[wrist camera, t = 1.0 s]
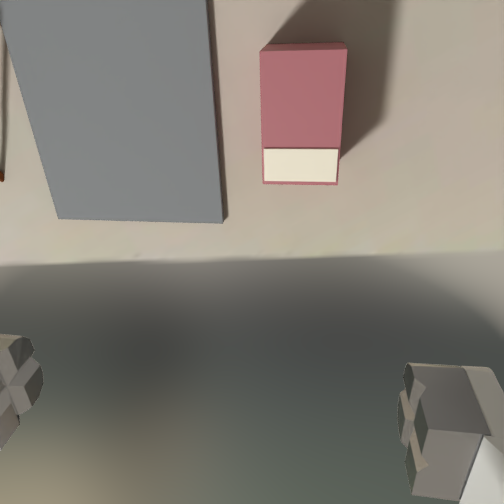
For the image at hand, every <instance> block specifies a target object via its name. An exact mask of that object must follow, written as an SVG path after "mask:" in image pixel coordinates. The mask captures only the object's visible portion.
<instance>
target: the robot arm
mask: <svg viewBox="0 0 504 504" xmlns="http://www.w3.org/2000/svg"><path fill="white" fill-rule="evenodd" d="M34 351H35V349H34V347H33V345H32V343H31V340H30V339H29V338H26V337H23V336H15V335H4V334H0V451H1V450H2V448H3V447H4V445H5V444H6V443H7V441H8V440H9V438H10V437H11V436H12V434H13V433H14V431H15V430H16V429H17V427H18V426H19V425H20V416H19V415H20V414H22V413H23V412H25V411H26V410H28V409H30V408H31V407H32V406H33V405H34V403H35V402H36V400H37V399H38V398H39V396H40V392H41V389H42V386H43V371H42V369H41V366H40V364H39V363H37V362H36V361H35V360H34V359H33V358H32V357H31V356H32V354H33V352H34ZM403 380H404V384H405V390H403V391H402V392H401V393H400V395H399V401H398V417H397V419H398V427H399V428H398V429H399V434H400V440H401V442H402V443H403V444H404V445H405V446H406V447H407V448H408V449H407V453H406V458H405V466H406V470H407V475H408V480H409V485H410V489H411V495H417V496H425V497H432V498H439V499H447V500H455V501H460V503H459V504H504V393H503V391H502V389H501V387H500V385H499V383H498V381H497V379H496V377H495V375H494V373H493V371H492V370H491V369H489V368H488V367H474V366H460V367H459V366H452V365H434V364H419V363H407V365H406V367H405V370H404V374H403Z"/></svg>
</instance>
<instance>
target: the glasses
mask: <svg viewBox="0 0 504 504" xmlns="http://www.w3.org/2000/svg"><path fill="white" fill-rule="evenodd" d="M0 181H1V182H3V181H4V174H3V173H2V172H1V171H0Z"/></svg>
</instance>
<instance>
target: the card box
mask: <svg viewBox="0 0 504 504" xmlns="http://www.w3.org/2000/svg"><path fill="white" fill-rule="evenodd" d="M346 62H347V48H346V46H345V44H344V42H330V43H292V44H267V45H266V46H265V47H264V48H263V49H262V50H261V51H260V91H261V134H262V176H263V184H295V185H338V173H339V159H340V145H341V131H342V117H343V103H344V89H345V75H346Z"/></svg>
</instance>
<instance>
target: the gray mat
mask: <svg viewBox="0 0 504 504" xmlns="http://www.w3.org/2000/svg"><path fill="white" fill-rule="evenodd" d="M0 23H1V26H2V30H3V33H4V36H5V40H6V43H7V47H8V50H9V53H10V57H11V60H12V63H13V67H14V70H15V74H16V77H17V80H18V84H19V87H20V91H21V94H22V97H23V101H24V104H25V108H26V111H27V114H28V118H29V121H30V124H31V128H32V131H33V135H34V138H35V141H36V145H37V148H38V152H39V155H40V158H41V162H42V165H43V169H44V172H45V175H46V179H47V182H48V186H49V189H50V192H51V196H52V199H53V202H54V206H55V209H56V213H57V216H58V219H76V220H112V221H148V222H183V223H219V224H223V222H224V214H223V201H222V188H221V175H220V161H219V148H218V135H217V122H216V108H215V95H214V82H213V69H212V56H211V42H210V29H209V16H208V3H207V0H0Z"/></svg>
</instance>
